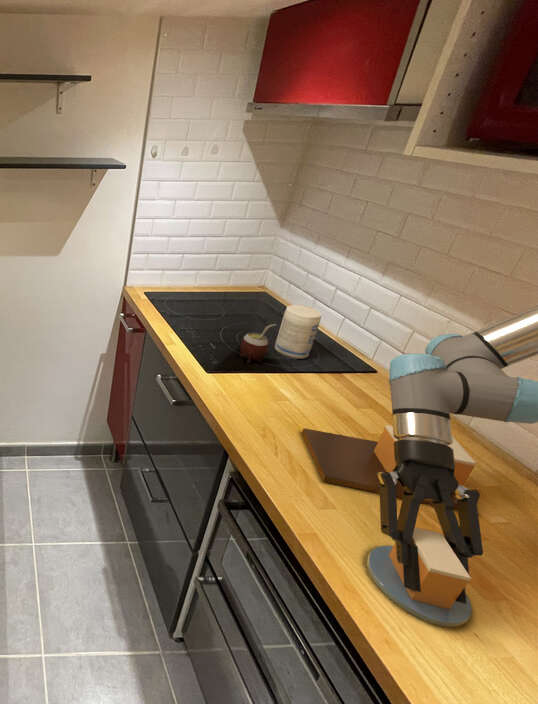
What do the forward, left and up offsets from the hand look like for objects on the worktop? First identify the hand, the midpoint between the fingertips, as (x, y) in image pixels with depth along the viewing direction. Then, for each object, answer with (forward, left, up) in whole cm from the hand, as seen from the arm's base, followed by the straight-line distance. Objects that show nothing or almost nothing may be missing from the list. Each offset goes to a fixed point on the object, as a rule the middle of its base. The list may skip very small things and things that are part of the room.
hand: (434, 595), depth 69 cm
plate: (+1, -4, -3) cm, 5 cm away
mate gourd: (+37, -66, -3) cm, 75 cm away
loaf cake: (0, -35, -2) cm, 35 cm away
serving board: (+6, -33, -3) cm, 33 cm away
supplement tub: (+28, -79, -3) cm, 84 cm away
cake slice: (+1, -4, -2) cm, 4 cm away
